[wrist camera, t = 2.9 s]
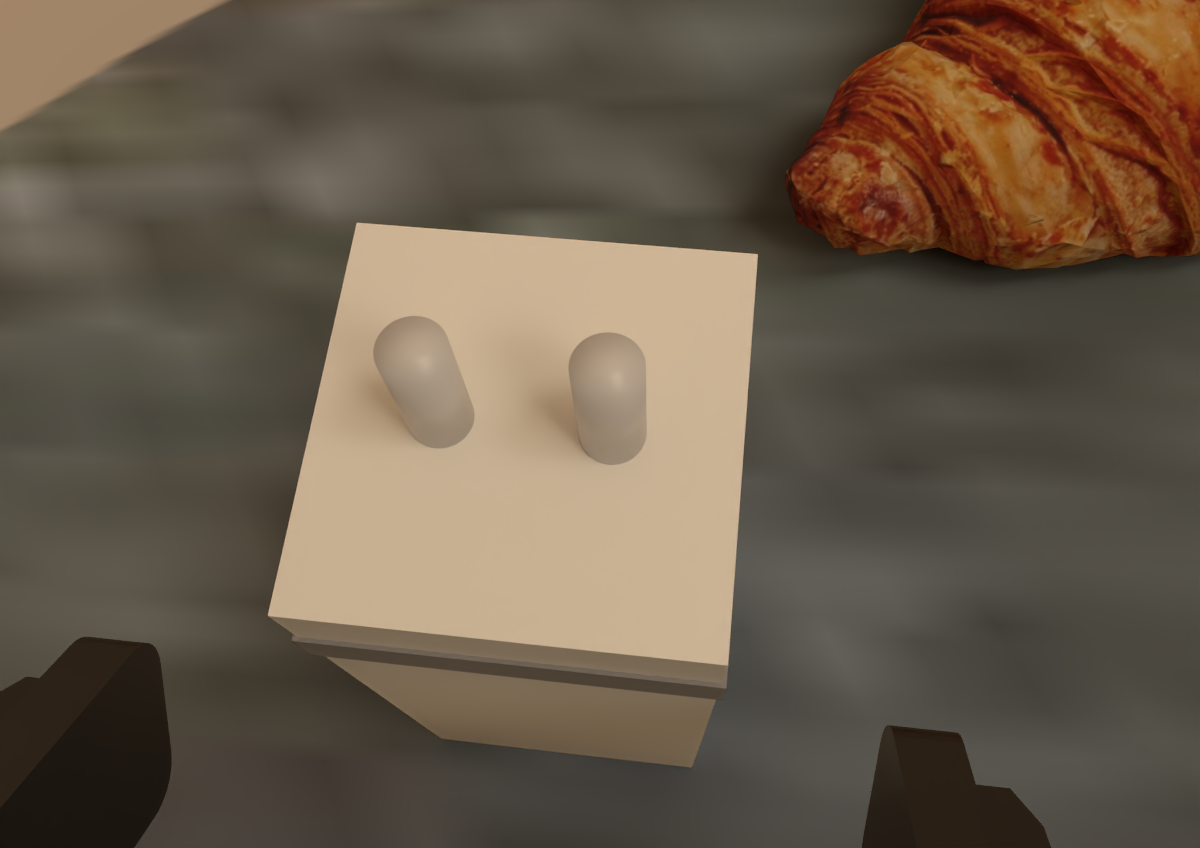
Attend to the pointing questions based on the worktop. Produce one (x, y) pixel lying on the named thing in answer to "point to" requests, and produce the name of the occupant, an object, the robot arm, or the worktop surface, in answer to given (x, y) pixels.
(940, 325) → the worktop surface
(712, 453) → the block
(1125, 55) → the croissant
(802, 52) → the worktop surface
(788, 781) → the worktop surface
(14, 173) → the worktop surface
